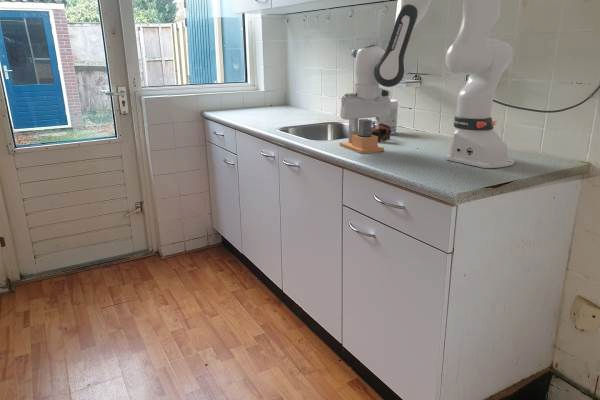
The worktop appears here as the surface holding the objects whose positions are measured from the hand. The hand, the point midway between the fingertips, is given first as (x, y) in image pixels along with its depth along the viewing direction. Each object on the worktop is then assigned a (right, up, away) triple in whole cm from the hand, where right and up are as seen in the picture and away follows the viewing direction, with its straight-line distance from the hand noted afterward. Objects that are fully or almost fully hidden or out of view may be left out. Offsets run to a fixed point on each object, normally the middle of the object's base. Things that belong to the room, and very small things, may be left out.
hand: (365, 129), depth 168 cm
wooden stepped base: (-1, -6, +5) cm, 8 cm away
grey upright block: (0, -6, +2) cm, 6 cm away
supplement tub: (+14, +4, +34) cm, 37 cm away
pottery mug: (+9, -2, +18) cm, 20 cm away
